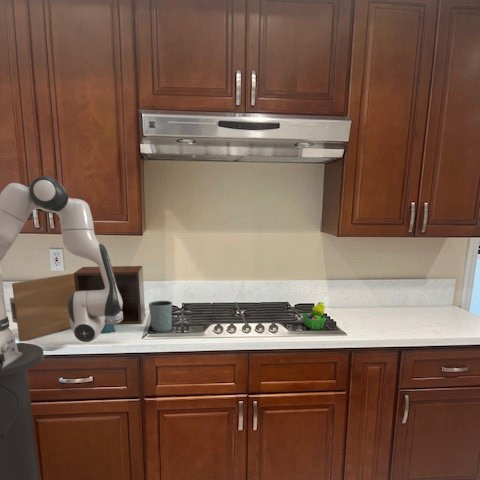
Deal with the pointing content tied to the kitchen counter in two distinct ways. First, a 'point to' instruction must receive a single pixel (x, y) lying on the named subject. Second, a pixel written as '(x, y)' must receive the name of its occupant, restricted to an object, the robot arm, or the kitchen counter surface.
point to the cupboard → (128, 286)
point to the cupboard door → (42, 305)
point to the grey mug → (161, 315)
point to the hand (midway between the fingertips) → (99, 312)
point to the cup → (108, 328)
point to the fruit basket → (315, 317)
